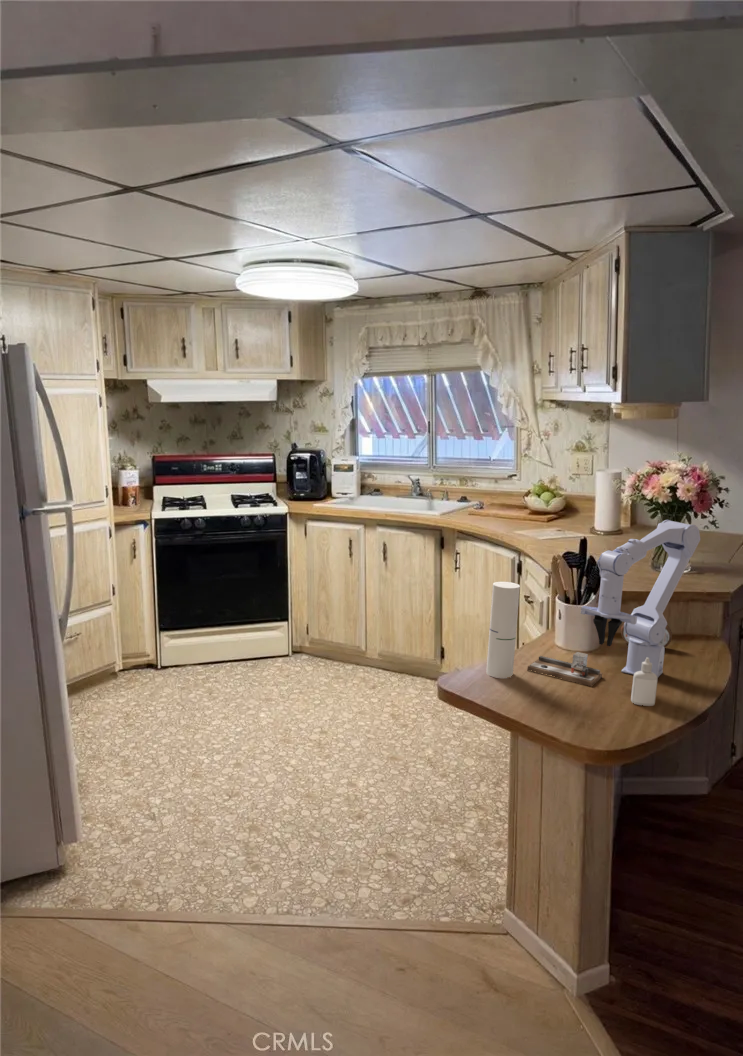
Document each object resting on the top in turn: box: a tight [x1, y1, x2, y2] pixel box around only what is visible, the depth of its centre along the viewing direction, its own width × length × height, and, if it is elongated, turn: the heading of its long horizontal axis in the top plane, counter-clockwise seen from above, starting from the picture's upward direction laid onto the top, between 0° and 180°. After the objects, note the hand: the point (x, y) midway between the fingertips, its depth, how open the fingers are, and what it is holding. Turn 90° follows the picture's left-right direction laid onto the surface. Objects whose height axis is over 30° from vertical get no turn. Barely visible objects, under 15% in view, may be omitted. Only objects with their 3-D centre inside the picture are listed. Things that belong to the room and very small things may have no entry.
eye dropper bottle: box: [630, 658, 658, 707], centre depth 189 cm, size 4×6×12 cm
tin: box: [620, 622, 673, 649], centre depth 235 cm, size 15×3×8 cm, turn 72°
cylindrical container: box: [485, 581, 521, 679], centre depth 204 cm, size 7×7×25 cm
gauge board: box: [527, 655, 603, 687], centre depth 208 cm, size 18×9×3 cm, turn 56°
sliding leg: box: [571, 651, 589, 673], centre depth 207 cm, size 3×7×4 cm, turn 146°
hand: (605, 644), depth 204 cm, fingers closed
